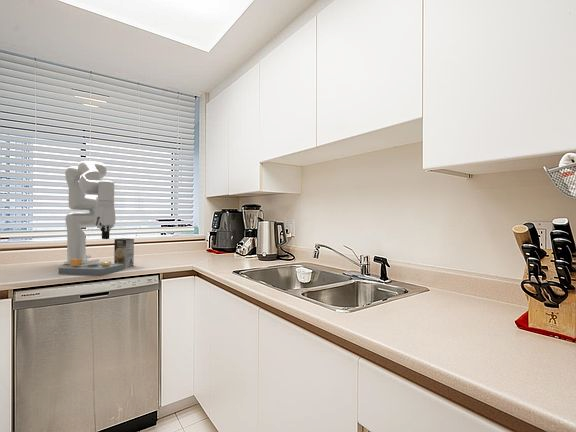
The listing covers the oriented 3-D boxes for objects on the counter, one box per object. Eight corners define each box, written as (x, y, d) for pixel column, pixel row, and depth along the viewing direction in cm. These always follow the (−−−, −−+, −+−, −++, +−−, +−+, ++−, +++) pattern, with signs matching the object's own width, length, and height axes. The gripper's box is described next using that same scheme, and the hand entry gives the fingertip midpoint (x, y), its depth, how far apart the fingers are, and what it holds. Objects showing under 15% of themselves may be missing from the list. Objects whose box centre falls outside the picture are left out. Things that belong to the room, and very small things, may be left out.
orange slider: (75, 265, 164) (75, 258, 164) (81, 265, 164) (81, 258, 164) (70, 266, 161) (70, 259, 161) (77, 266, 161) (77, 259, 161)
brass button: (105, 264, 166) (105, 261, 166) (113, 264, 165) (113, 261, 165) (98, 266, 161) (98, 262, 161) (106, 266, 160) (106, 262, 160)
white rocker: (91, 263, 167) (91, 260, 167) (99, 261, 166) (99, 259, 166) (85, 264, 163) (85, 261, 163) (93, 262, 162) (93, 260, 162)
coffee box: (113, 266, 182) (113, 238, 182) (122, 264, 188) (122, 238, 188) (125, 267, 179) (125, 239, 179) (134, 265, 185) (134, 238, 185)
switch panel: (86, 268, 175) (86, 261, 175) (125, 269, 171) (125, 262, 171) (58, 273, 157) (58, 266, 157) (100, 275, 154) (100, 268, 154)
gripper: (109, 204, 171) (109, 237, 171) (88, 203, 156) (87, 239, 157) (122, 204, 170) (121, 238, 170) (101, 204, 155) (101, 240, 155)
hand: (105, 238), depth 163 cm, fingers closed
